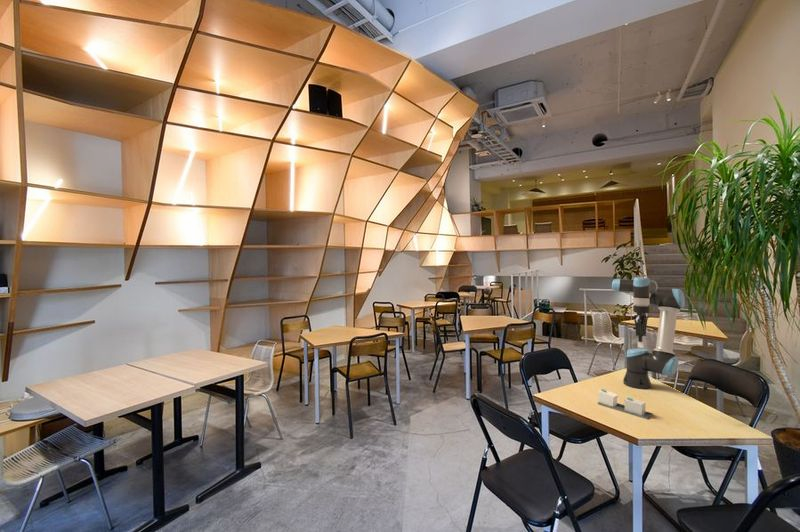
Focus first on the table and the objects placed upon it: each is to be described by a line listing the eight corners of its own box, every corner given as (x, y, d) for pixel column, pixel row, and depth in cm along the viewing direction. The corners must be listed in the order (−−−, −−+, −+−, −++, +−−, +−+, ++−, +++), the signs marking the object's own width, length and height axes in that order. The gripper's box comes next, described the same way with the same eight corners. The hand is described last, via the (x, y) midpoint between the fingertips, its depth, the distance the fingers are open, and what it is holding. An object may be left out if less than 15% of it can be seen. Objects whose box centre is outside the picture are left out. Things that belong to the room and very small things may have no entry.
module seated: (628, 408, 199) (628, 396, 198) (645, 413, 192) (645, 400, 192) (624, 411, 195) (624, 398, 195) (641, 416, 189) (641, 403, 189)
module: (601, 399, 210) (602, 387, 209) (616, 405, 203) (618, 393, 202) (597, 401, 206) (598, 389, 206) (612, 407, 200) (613, 395, 199)
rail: (602, 401, 211) (602, 398, 211) (653, 416, 191) (653, 413, 191) (596, 405, 206) (596, 402, 206) (647, 421, 186) (647, 417, 186)
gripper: (638, 303, 211) (638, 344, 212) (628, 305, 203) (628, 348, 204) (653, 304, 205) (653, 346, 206) (644, 307, 197) (644, 350, 198)
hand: (640, 347), depth 205 cm, fingers closed
